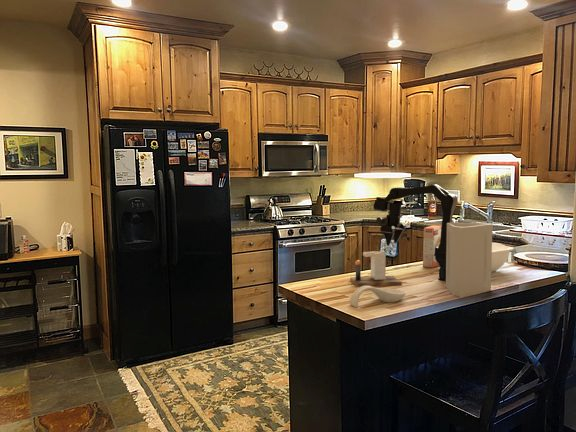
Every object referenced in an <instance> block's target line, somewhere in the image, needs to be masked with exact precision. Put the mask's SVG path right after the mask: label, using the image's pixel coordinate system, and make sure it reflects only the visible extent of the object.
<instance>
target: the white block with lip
mask: <svg viewBox="0 0 576 432" xmlns="http://www.w3.org/2000/svg"><path fill="white" fill-rule="evenodd" d="M386 255H387V254H386V252H384V251H382V250H374V251H373V250H372V251H371V250H370V251H363V252H362V256H364V257H365V258H368V257H370V277H371V278H373V279H374V280H385V276H386V268H387V267H386V264H387V263H386V260H387V258H386Z"/></svg>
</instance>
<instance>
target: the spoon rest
mask: <svg viewBox="0 0 576 432" xmlns="http://www.w3.org/2000/svg"><path fill="white" fill-rule="evenodd" d="M365 291H371V292H372V293H373V294H374V295H375V296H376V297H378V299H379V300H380V301H381V302H383V303H384V302H385V303H396V302H398V301H400V300H402V299H403V298H404V297H405V295H406V294H407V293H406V291H404V290H401V289H396V288H390V287H389V288H388V287H386V288H385V287H376V286H361V287H357V289H356V290H354V292H353V293H352V294H351V297H350V299H349V305H350V306H352V307H354V308H359V298H360V296H361V295H362V293H364V292H365Z"/></svg>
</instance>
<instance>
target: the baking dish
mask: <svg viewBox="0 0 576 432" xmlns="http://www.w3.org/2000/svg"><path fill="white" fill-rule="evenodd" d="M513 250H514V247H513V246H507V245H505V244H502V243H501V242H500V243H498V242H492V263H491V273H492V272H496V271H498V270H499V269H500V268H502V267H503V266H504V264H506V261H508V258H509V256H510V253H511V252H510V251H513Z"/></svg>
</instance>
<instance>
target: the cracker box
mask: <svg viewBox="0 0 576 432" xmlns="http://www.w3.org/2000/svg"><path fill="white" fill-rule="evenodd" d="M441 227H442V225H430V226H426V227H424V228H423V241H422V242H423V248H422V249H423V250H422V267H423V268H430V269H434V268H435V267H438V266H439V263H438V262H437V261H436V259H435V256H434V254H435V247H437V246H439V244H440V237H441Z"/></svg>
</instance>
